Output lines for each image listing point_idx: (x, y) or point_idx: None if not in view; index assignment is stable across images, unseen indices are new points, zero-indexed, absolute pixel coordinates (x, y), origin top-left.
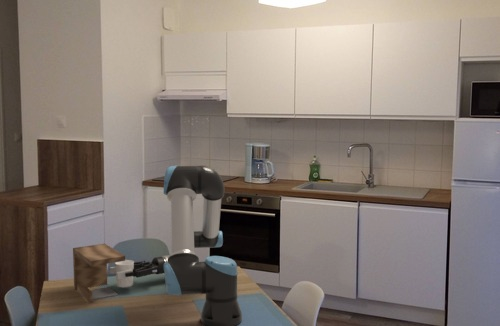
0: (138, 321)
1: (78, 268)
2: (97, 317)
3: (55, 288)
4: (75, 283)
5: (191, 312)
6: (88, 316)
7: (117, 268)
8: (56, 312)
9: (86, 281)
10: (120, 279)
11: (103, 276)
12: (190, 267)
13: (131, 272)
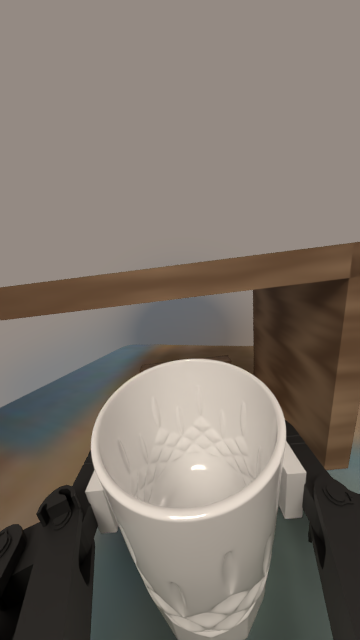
0: None
1: (257, 324)
2: (56, 389)
3: None
4: (254, 359)
5: None
6: (78, 379)
7: (167, 385)
8: (142, 353)
9: (268, 376)
10: (164, 451)
11: (313, 418)
12: None
13: (82, 487)
